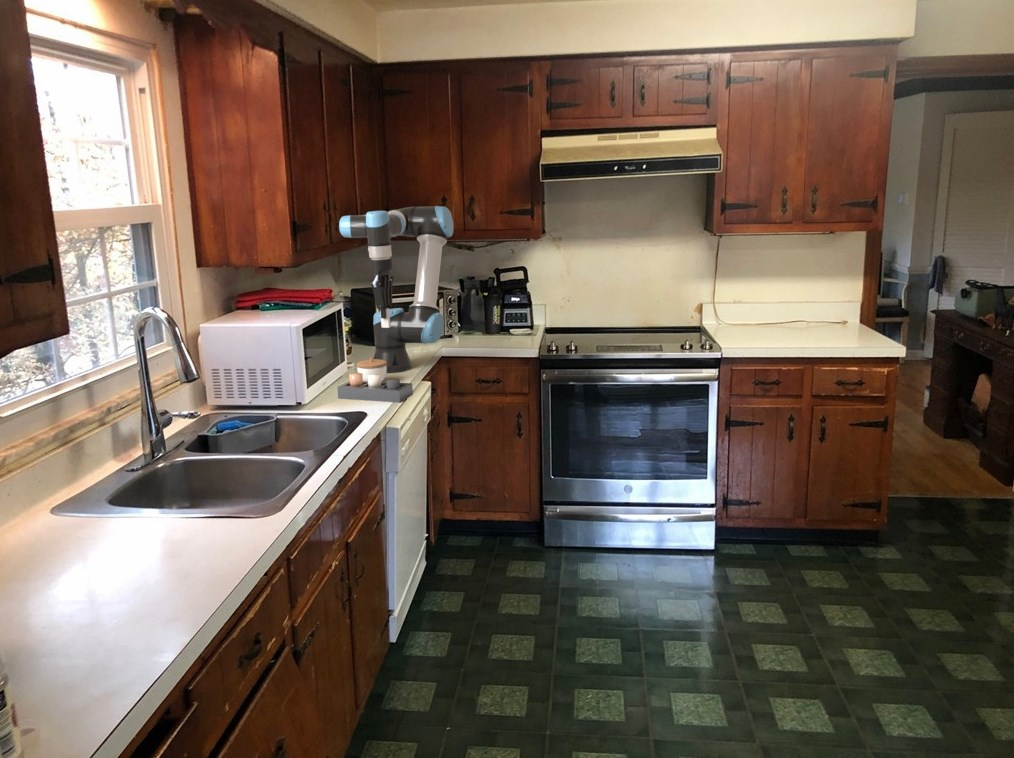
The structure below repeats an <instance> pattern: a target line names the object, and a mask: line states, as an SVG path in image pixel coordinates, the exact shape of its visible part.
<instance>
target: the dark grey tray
mask: <svg viewBox="0 0 1014 758" xmlns="http://www.w3.org/2000/svg"><path fill="white" fill-rule="evenodd" d="M381 385H382V386H381V387H379V388H374V387H368V381H363V385H362V386H360V387H358V386H350V380H349V381H347V382H344V383H343V384H340V385H338V386H336V387H337V398H338V399H342V400H359V401H369V402H370V401H374V402H375V401H376V402H384V403H385V402H388V403H401V402H403V401H405V400H407V399H408V398H410V397H412V396H413V394H414V392H413V391H414V390H413V383H408V382H400V388H399V389H390V388H387V381H382V382H381Z"/></svg>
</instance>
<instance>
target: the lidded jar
mask: <svg viewBox="0 0 1014 758" xmlns="http://www.w3.org/2000/svg"><path fill="white" fill-rule="evenodd" d="M373 358H374V357H370V358H369V359H366V360H365V359H364V360H359V361H357V363H356V370H357V373H362V376H363V381H368V375H370V374H381V382H384V380H385V379H386V377H387V373H386V372H387V362H386V361H385V360H380V359H373Z"/></svg>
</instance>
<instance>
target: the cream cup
mask: <svg viewBox="0 0 1014 758" xmlns="http://www.w3.org/2000/svg"><path fill="white" fill-rule="evenodd" d="M381 386H382V385H381V374H370V375H368V387H374V388H379V387H381Z"/></svg>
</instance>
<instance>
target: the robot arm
mask: <svg viewBox="0 0 1014 758" xmlns="http://www.w3.org/2000/svg"><path fill="white" fill-rule="evenodd" d="M338 227H339V228H338V229H339V233H340V234H341V236H342V237H343V238H352V239H354V238H367V246H368V248H367V251H368V257H369V258H370V259H369V261H368V262H369V270H370V271H372V272H374V273H373V274H374V275H373V279H374V280H373V281H370V286H371V288H372V293H373V297H374V301H375V302H374V303H375V306H376V309H377V310H379V311H376V312H375V313H374V315H373V323H372V324H373V335H374V347H375V350H374V354H373V357H372V358H373V359H380V360H385V361H386V362H387V372H386V374H387V373H388V374H389V373H400V372H405V371H408V370H410V369H411V368H412V361H411V358H410V356H409V354H408V350H407V347H406V344H407V343H408V344H424V345H427V344H435V343H437V342H438V341H439V340H440V339H441V337H442V335H443V331H444V327H445V326H444V325H445V322H444V320H445V319H444V316H443V314H442V313H440V308H439V307H438V306H437V300H438V293H439V292H438V291H439V280H440V271H441V263H442V262H441V261H442V253H443V252H442V251H443V246H445V245H446V244H447V242H448V238H451V237H452V236H453V234H454V228H455V227H454V220H453V217H452V213H451V211H450V209H449V208H447V207H446V206H439V205H435V206H434V205H433V206H409V207H408V206H407V207H403V208H398V209H392V210H389V211H387V210H372V211H367V212H366V214H362V215H361V214H360V215H359V214H358V215H357V214H356V215H351V214H349V215H343V216H341V218H340V219H339V225H338ZM398 236H400V237H401V236H403V237H409V238H411V237H412V238H416V240H417V242H418V243H419V252H418V261H417V269H416V279H415V290H414V297H413V298H414V299H413V303H412V304H410V305H409V307H408V312H405V310H404V308H402V307H398V308H397V307H395V308H392V307H393V305H392V304H393V285H394V284H393V282H394V276H393V275H391V274H390V273H391V272H390V271H391V270H392V269H393V259H392V258H391V257H392V256H393V252H392V243H391V238H396V237H398Z"/></svg>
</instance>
